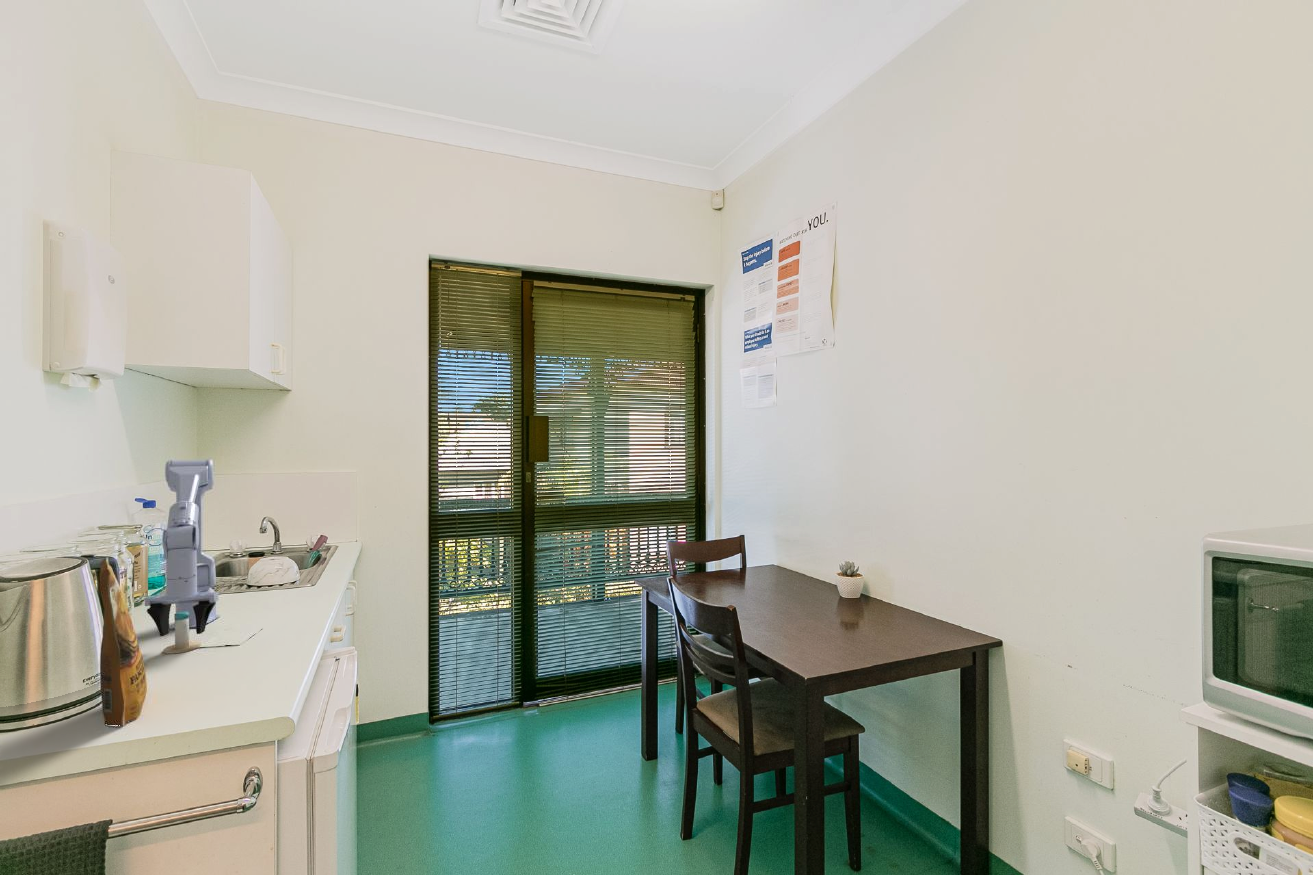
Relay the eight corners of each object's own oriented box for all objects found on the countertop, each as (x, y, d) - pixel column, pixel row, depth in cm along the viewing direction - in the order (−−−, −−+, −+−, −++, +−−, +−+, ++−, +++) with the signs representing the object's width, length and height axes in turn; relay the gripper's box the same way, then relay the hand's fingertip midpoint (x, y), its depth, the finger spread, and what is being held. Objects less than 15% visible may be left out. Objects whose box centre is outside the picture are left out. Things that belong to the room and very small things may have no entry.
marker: (179, 645, 142) (178, 612, 142) (191, 644, 143) (191, 611, 142) (172, 649, 139) (171, 615, 139) (185, 648, 140) (184, 614, 140)
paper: (224, 631, 153) (224, 630, 153) (263, 629, 155) (263, 628, 155) (197, 648, 141) (197, 647, 141) (239, 645, 143) (239, 644, 143)
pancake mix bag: (85, 738, 100) (83, 571, 99) (105, 697, 115) (102, 553, 115) (139, 726, 103) (136, 566, 103) (150, 688, 119) (148, 549, 119)
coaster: (174, 644, 144) (174, 642, 144) (207, 642, 145) (207, 640, 145) (156, 655, 137) (156, 653, 137) (190, 652, 138) (190, 651, 138)
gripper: (135, 582, 136) (136, 641, 136) (206, 579, 138) (207, 637, 139) (155, 575, 143) (156, 631, 143) (222, 572, 145) (223, 627, 146)
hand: (182, 633), depth 141 cm, fingers open, 7 cm apart
